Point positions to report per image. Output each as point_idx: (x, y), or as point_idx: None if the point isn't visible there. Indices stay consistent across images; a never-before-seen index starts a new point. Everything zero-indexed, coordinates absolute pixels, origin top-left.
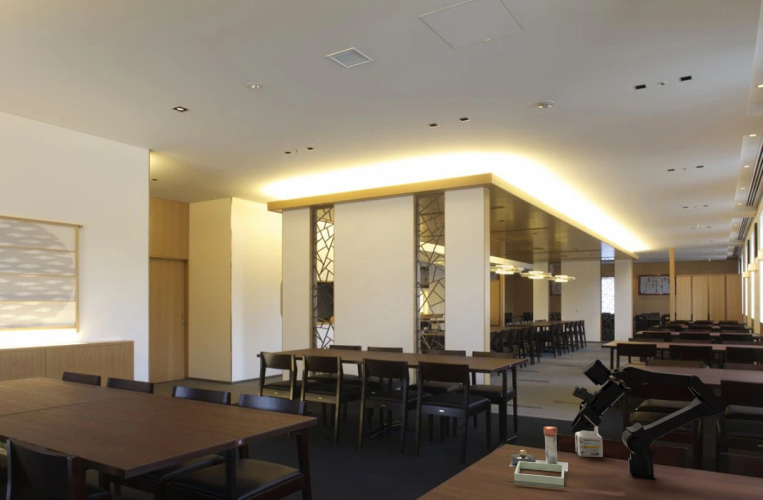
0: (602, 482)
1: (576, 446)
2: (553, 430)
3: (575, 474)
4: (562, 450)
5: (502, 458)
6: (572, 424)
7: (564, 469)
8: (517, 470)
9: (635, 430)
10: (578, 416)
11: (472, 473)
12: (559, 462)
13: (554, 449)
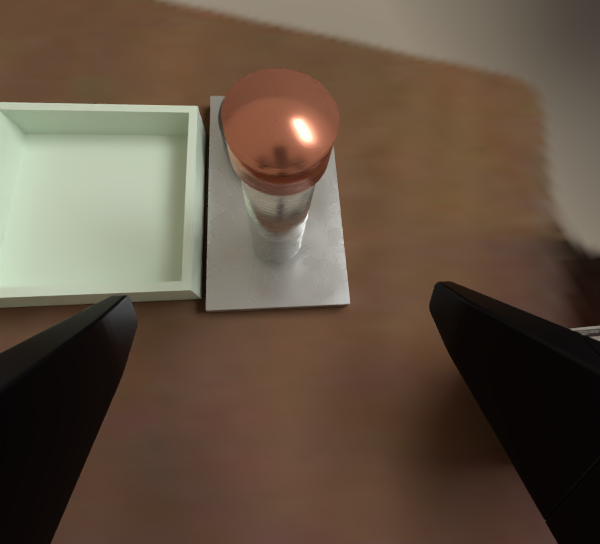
0: (125, 478)
1: (580, 331)
2: (232, 147)
3: (223, 344)
4: (579, 270)
5: (348, 76)
6: (441, 297)
7: (231, 294)
8: (47, 110)
9: None
10: (555, 374)
11: (127, 10)
12: (337, 268)
13: (253, 222)
